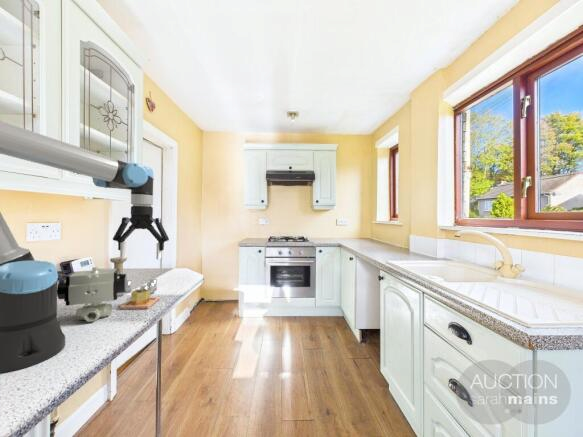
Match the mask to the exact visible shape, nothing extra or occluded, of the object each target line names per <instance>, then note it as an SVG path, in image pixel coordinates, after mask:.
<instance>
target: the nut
mask: <svg viewBox="0 0 583 437" xmlns="http://www.w3.org/2000/svg"><path fill="white" fill-rule="evenodd" d="M130 294H131V295H130V296H131V298H130V300H131V305H134V306H140V305H146V304H148V303H149V302H150V297H151V296H150V295H151V294H150V290H149V289H134V290H132V291H131V292H130Z"/></svg>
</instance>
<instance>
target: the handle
mask: <svg viewBox="0 0 583 437" xmlns="http://www.w3.org/2000/svg"><path fill="white" fill-rule="evenodd" d="M127 259H128V257H127V256H126V258H124V259H120V256H117V257H116V256H115V257H111V258H110V262H111V263H113V269H120V272H121V273H122V274H124V262H126V261H127Z"/></svg>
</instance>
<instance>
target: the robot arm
mask: <svg viewBox="0 0 583 437" xmlns="http://www.w3.org/2000/svg"><path fill="white" fill-rule="evenodd" d="M0 155H5V156H8V157H12V158H16V159H20V160H24V161H27V162H31V163H35V164H39V165H42V166H47V167H51V168H54V169H58V170H62V171H67V172H70V173H74V174H78V175H82V176H86V177H91V178H92V182H93V184H94V186H95V187H98V188H99V187H100V188H104V189H107V188H108V189H119V190H130V204H131V205H132V206H130V217H124V216H123V217H122V218H121V223H120V225H119V227H117V229H116V232H115V234H114V236H113V237H112V240H113V241H115V242H117V247H118V248H117V249H118V251H120V252H119V253H120V254H119V257H120V259H124V258H126V257H127V241H126V240H127V238H128V237H129V236H130V235H131V234H132V233H133V232H134V231H135V230H140V229H141V230H147V231H149V232H150V233H151V235H152V236H153V237H154V239H156V241H157V243H156V252H155V253H156V256H155V257H156V260H160V259H162V251H164V248H165V242H169V240H170V239H169V236H168V234H167V231H166V230H165V228H164V226H163V223H162V219H161V217H156V218H154V217H153V214H154V210H153V209H154V208H153V205H154V179H155V177H154V170H153V168H151V167H150V166H145V165H142V164H140V163H137V162H136V163H135V162H130V163H129V162H128V163H127V162H125V161H122V160H119V159H116V158H113V157H110V156H107V155H104V154H101V153H97V152H95V151H91V150H90V149H86V148H83V147H80V146H77V145H73V144H70V143H68V142H64V141H61V140H59V139H55V138H52V137H49V136H47V135H44V134H41V133H39V132H38V133H37V132H34V131H32V130H29V129H26V128H23V127H20V126H17V125H13V124H11V123H7V122H5V121H2V120H0ZM129 223H131V224H130V225H129V226H128V224H129ZM153 223H154V224H155V226H156V229H157V230H158V231H157V230H156V229H155V227H154V226H153V225H152V224H153ZM127 226H128V228H127ZM126 228H127V229H126ZM124 231H125V232H124ZM57 269H58V268H57V266H56V265H55V264H54V263H53V262H50V261H45V260H35V258H34V256H33V253H31V250H30V249H28V248H24V247H21V246H19V244H18V242H17V240H16V238H15V237H14V234H13V232H12V231H11V229H10V227H9V226H8V224H7V221H6V220H5V218H4V216H3V214H2V213H1V211H0V374H1V373H8V372H13V371H17V370H22V369H25V368H28V367H30V366H33V365H36V364H39V363H42V362H45V361H46V360H48V359H50V358H52V357H54V356H56V355H58V354H59V353H61V351H62V350H64V348H65V347H66V336H65V333H64V332H63V331H62V327H61V325H60V324H59V321H58V296H57V287H58V278H59V273H58V270H57Z"/></svg>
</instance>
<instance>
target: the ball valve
mask: <svg viewBox="0 0 583 437" xmlns="http://www.w3.org/2000/svg"><path fill="white" fill-rule="evenodd" d="M98 268H99V267H98V266H93V267H92V268H91V270H80V271H71V272H70V273H69V274H68V275H66V276H65V277H64V278H61V279H60V280H59V281H58V282H57V300H58V299H59V300H63V301H64V302H65V306H66V307H68V306H75V305H76V306H77V305H82V306H81V307H80V306H79V307H77V308H76V312H75V319H76V320H77V321H79V320H82V321H86V322H87V323H89V322H91V323H92V322H95V321H97V320H99V319H100V318H106V317H107V316H110V315H112V307H113V306H112V303H107V302H109V301H116V300H117V301H118V298H119V297H118V296H119V294H120V293H123V294H126V293H125V292H126V287H127V280H128V278H127V273H123V274H122V273H121V272H120V269H114V268H109V269H108V268H107V269H98ZM102 302H103V303H102ZM83 304H84V305H83Z"/></svg>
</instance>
